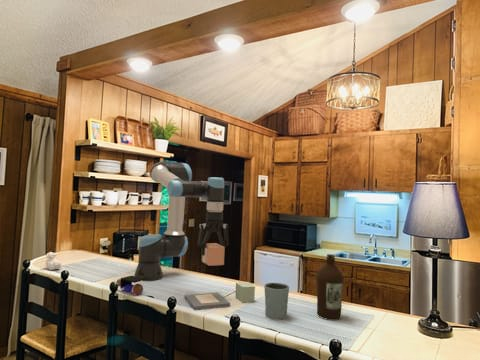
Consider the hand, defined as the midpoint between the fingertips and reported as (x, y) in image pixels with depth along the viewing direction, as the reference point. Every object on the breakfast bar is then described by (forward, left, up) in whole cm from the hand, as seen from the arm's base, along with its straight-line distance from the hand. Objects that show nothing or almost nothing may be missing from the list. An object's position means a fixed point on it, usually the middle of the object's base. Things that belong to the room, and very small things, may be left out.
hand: (212, 262), depth 155 cm
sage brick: (+3, +15, -17) cm, 23 cm away
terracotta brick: (0, 0, 0) cm, 0 cm away
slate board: (+2, -3, -17) cm, 18 cm away
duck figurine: (-78, -71, -17) cm, 107 cm away
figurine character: (-22, -33, -18) cm, 43 cm away
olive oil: (+32, +40, -17) cm, 54 cm away
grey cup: (+25, +19, -17) cm, 36 cm away
